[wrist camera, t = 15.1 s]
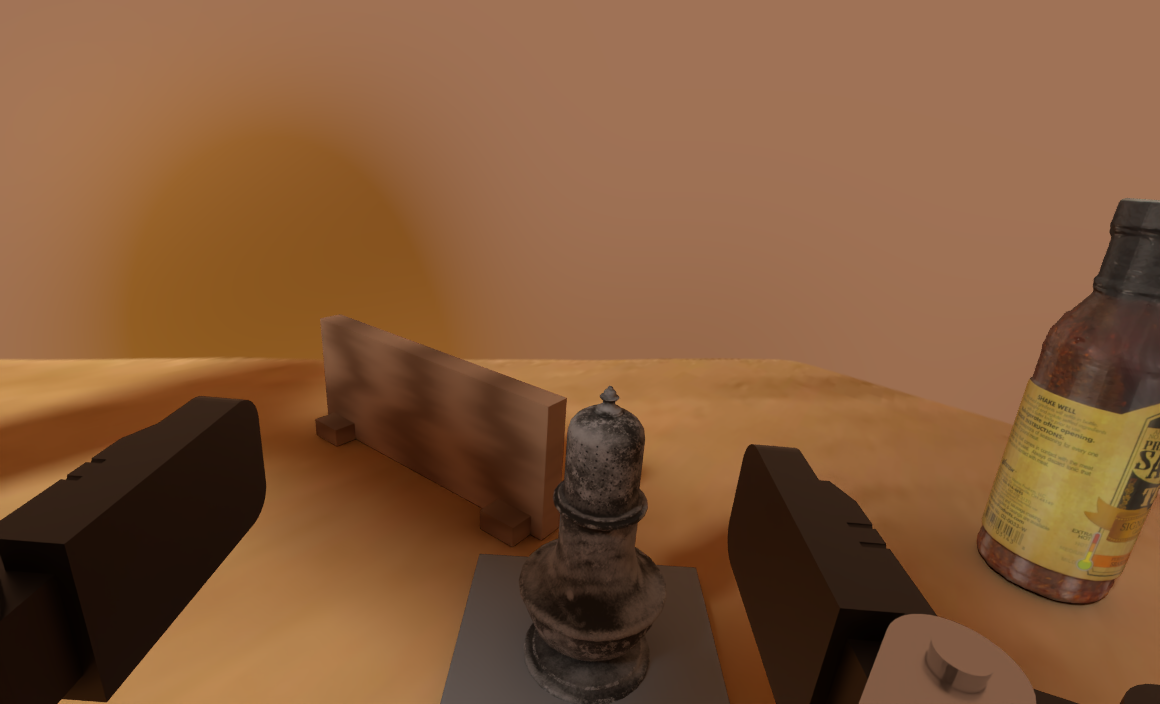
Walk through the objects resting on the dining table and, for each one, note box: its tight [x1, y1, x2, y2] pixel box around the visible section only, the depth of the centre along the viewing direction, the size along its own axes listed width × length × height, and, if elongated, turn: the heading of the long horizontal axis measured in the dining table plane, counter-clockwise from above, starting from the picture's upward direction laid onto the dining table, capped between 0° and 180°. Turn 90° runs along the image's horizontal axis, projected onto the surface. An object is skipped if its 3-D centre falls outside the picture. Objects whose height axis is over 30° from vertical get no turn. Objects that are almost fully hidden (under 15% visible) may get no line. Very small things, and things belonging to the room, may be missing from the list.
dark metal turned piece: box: [519, 386, 666, 704], centre depth 23 cm, size 6×6×12 cm
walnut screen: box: [315, 315, 567, 547], centre depth 37 cm, size 20×4×8 cm, turn 54°
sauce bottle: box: [977, 198, 1160, 603], centre depth 30 cm, size 7×6×20 cm
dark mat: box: [440, 554, 730, 704], centre depth 25 cm, size 11×11×1 cm
